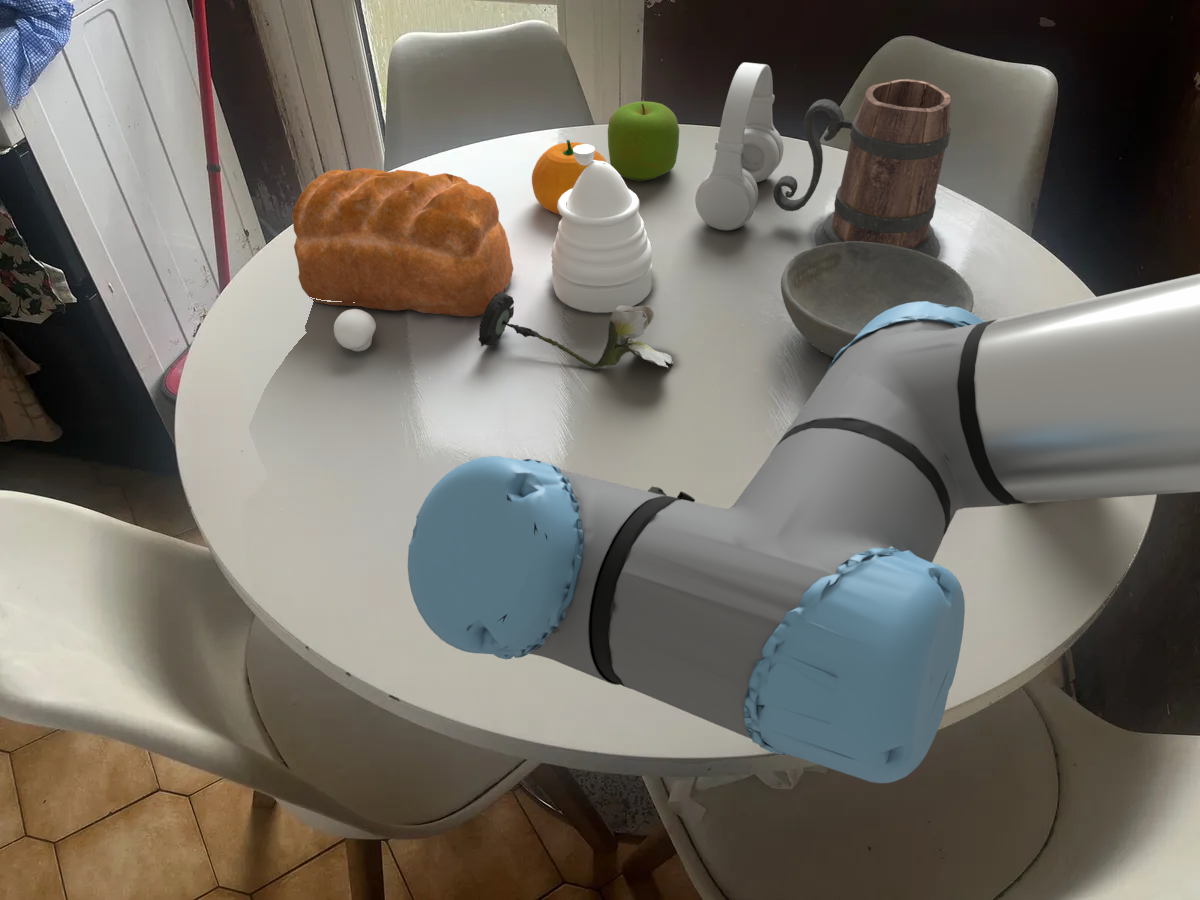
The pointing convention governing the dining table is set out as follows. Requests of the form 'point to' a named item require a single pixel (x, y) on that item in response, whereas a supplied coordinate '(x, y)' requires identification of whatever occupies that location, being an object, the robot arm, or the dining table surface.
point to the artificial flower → (621, 329)
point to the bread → (400, 242)
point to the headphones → (741, 150)
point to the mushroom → (354, 329)
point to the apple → (643, 140)
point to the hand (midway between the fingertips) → (798, 586)
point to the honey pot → (600, 241)
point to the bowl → (862, 288)
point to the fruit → (557, 174)
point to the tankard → (882, 167)
